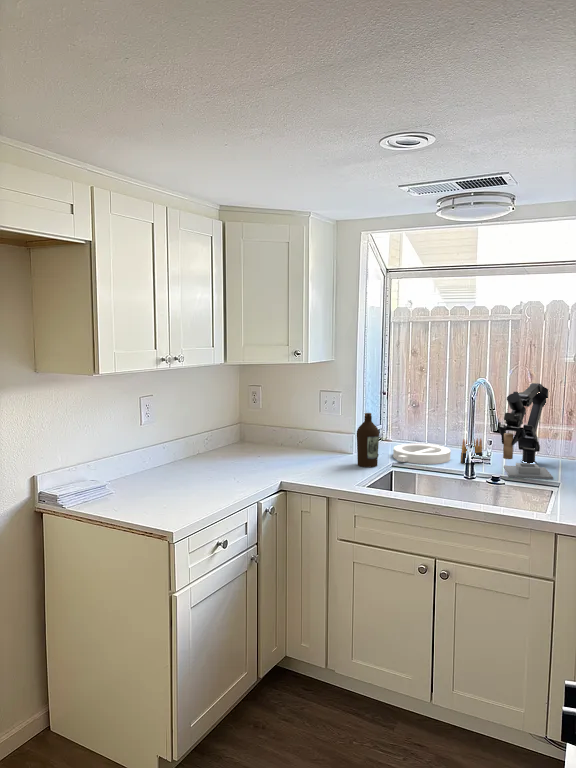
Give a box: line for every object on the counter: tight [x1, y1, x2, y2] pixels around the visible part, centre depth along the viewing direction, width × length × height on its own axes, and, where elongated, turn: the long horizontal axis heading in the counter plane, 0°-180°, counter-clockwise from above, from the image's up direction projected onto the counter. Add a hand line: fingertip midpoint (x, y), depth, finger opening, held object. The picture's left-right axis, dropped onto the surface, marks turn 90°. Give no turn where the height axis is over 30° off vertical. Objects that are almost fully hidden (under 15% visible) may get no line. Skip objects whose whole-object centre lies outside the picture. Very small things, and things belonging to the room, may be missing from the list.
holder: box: [503, 462, 554, 480], centre depth 268 cm, size 18×18×4 cm
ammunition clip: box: [460, 437, 483, 464], centre depth 288 cm, size 11×2×12 cm, turn 101°
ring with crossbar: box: [392, 443, 451, 465], centre depth 300 cm, size 28×28×5 cm
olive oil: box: [356, 412, 380, 468], centre depth 282 cm, size 11×11×25 cm
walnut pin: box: [502, 432, 514, 460], centre depth 266 cm, size 4×4×11 cm
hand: (507, 444), depth 265 cm, fingers closed on walnut pin, 4 cm apart
